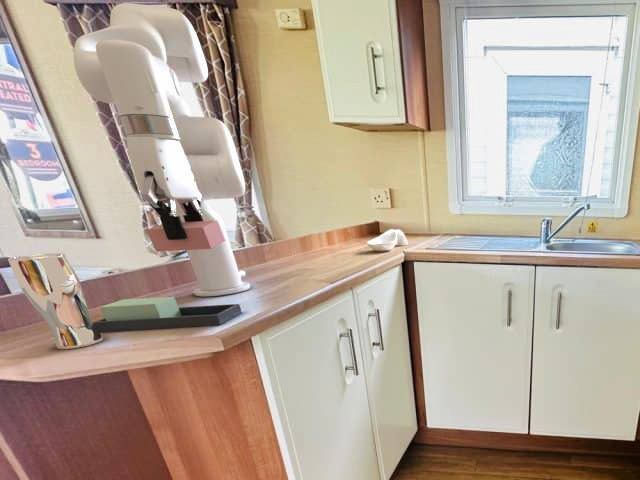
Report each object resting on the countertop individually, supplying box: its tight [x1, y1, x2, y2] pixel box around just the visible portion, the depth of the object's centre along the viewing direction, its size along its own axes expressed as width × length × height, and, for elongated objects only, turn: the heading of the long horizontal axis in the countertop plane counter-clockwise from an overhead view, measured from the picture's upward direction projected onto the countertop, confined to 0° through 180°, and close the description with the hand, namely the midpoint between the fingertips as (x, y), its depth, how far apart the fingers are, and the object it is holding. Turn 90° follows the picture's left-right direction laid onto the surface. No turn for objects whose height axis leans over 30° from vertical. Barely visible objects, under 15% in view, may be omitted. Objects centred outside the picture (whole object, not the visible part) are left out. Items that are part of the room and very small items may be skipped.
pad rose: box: [145, 221, 225, 252], centre depth 82 cm, size 6×10×4 cm, turn 97°
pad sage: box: [99, 296, 181, 321], centre depth 84 cm, size 6×10×4 cm, turn 95°
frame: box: [92, 303, 243, 333], centre depth 85 cm, size 9×23×2 cm, turn 95°
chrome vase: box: [7, 252, 104, 350], centre depth 71 cm, size 7×7×15 cm
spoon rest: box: [366, 229, 409, 253], centre depth 177 cm, size 24×12×7 cm, turn 167°
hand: (188, 236), depth 82 cm, fingers closed on pad rose, 6 cm apart
